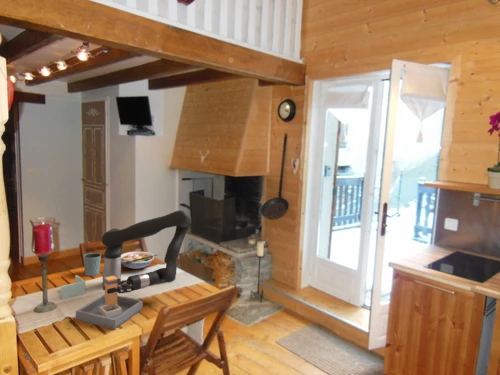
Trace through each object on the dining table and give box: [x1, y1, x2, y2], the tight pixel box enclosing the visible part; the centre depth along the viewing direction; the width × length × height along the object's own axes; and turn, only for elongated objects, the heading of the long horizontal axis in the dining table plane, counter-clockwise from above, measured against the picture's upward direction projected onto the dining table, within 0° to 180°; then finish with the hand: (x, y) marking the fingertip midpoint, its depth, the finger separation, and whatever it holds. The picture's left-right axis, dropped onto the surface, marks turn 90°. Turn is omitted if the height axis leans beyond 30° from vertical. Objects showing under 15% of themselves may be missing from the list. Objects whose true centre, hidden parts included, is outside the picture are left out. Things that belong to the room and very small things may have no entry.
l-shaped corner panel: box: [60, 274, 86, 300], centre depth 202 cm, size 12×12×8 cm
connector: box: [104, 276, 118, 306], centre depth 180 cm, size 5×5×13 cm
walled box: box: [75, 293, 144, 330], centre depth 181 cm, size 22×22×4 cm
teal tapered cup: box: [83, 252, 102, 277], centre depth 230 cm, size 10×10×12 cm
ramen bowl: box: [121, 251, 158, 270], centre depth 245 cm, size 25×23×8 cm
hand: (105, 289), depth 178 cm, fingers closed on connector, 4 cm apart
